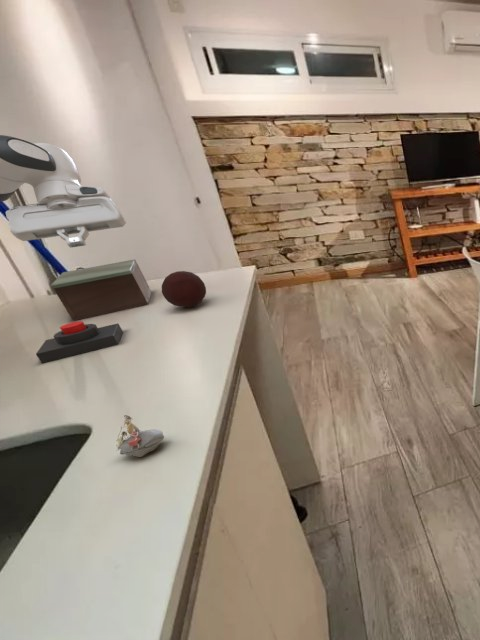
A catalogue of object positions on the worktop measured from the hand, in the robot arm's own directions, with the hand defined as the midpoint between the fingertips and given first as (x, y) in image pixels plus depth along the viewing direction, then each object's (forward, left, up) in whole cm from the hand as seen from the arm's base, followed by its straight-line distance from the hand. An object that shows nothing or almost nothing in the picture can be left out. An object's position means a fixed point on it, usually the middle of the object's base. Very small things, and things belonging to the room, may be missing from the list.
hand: (76, 245), depth 118 cm
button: (-2, -28, -14) cm, 32 cm away
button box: (-2, -28, -17) cm, 33 cm away
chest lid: (0, +3, -8) cm, 9 cm away
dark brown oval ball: (+17, -15, -18) cm, 29 cm away
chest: (0, +4, -17) cm, 18 cm away
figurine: (+12, -88, -18) cm, 91 cm away
